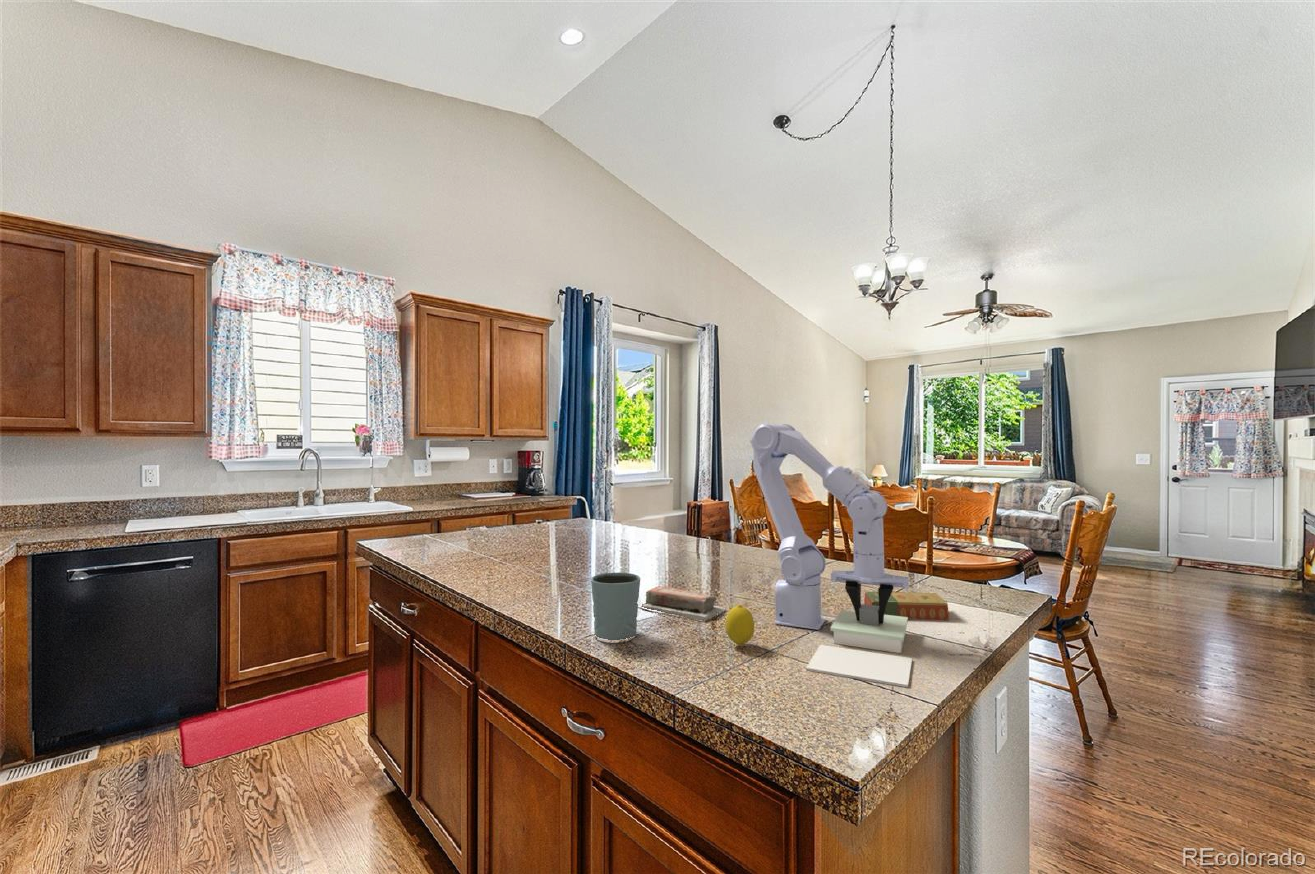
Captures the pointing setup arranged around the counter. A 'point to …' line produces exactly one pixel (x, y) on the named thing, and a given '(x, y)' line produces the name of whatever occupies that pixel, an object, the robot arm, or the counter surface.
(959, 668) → the counter surface
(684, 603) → the packaged product
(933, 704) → the counter surface
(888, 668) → the mat
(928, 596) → the carton
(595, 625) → the grey-green cup
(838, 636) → the box
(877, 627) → the lid
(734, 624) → the lemon
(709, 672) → the counter surface
